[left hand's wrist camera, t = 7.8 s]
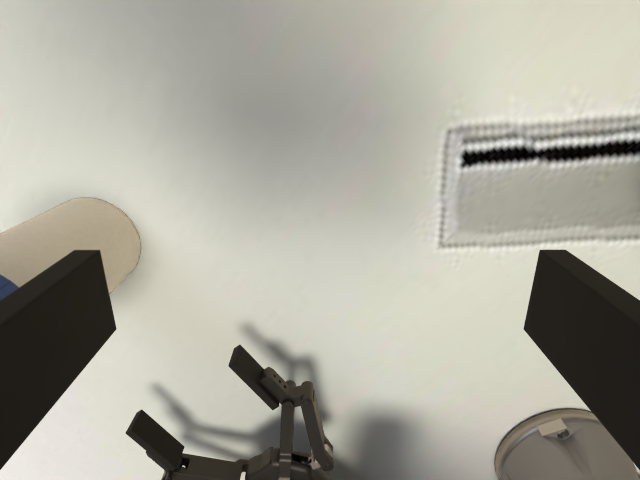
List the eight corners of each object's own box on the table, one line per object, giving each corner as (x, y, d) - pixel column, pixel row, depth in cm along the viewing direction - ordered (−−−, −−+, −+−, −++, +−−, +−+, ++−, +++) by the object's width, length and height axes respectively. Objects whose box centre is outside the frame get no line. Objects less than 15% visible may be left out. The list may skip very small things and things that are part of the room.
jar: (155, 228, 41) (50, 322, 25) (120, 296, 44) (4, 421, 28) (66, 179, 39) (-108, 247, 23) (35, 254, 42) (-140, 361, 26)
